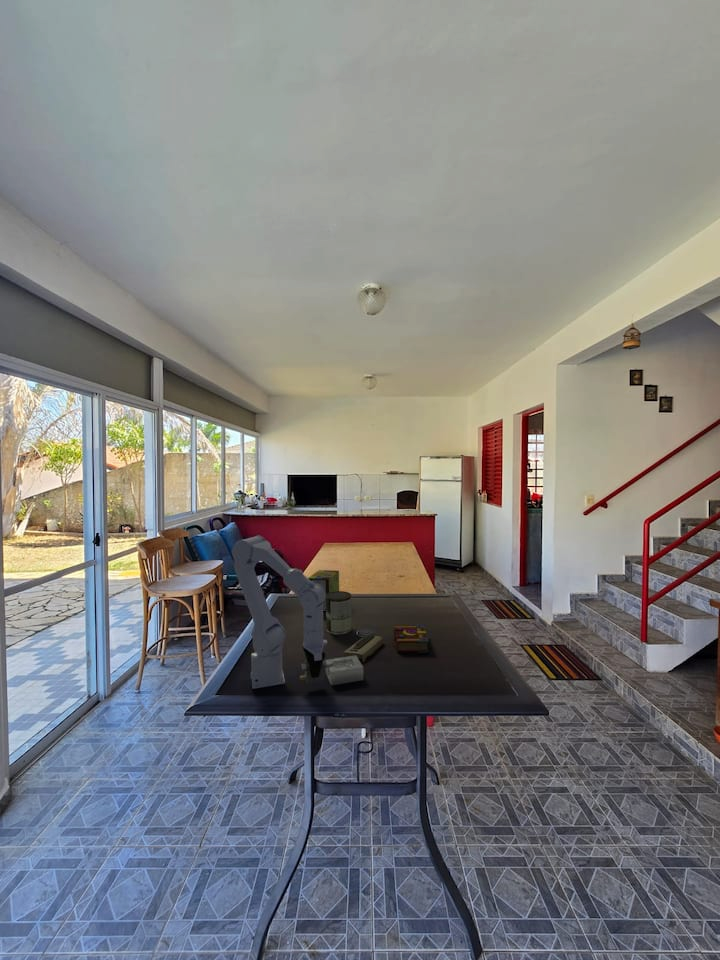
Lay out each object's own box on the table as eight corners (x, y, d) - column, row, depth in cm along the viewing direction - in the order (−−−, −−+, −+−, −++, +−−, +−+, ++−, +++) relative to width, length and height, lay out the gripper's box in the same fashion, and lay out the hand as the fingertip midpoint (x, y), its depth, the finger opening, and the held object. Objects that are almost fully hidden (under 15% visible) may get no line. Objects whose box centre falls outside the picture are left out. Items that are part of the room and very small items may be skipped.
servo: (301, 684, 112) (300, 663, 112) (299, 678, 115) (299, 658, 115) (327, 679, 114) (327, 660, 114) (325, 674, 118) (325, 655, 117)
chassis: (331, 685, 116) (331, 672, 116) (325, 672, 124) (325, 659, 124) (363, 679, 119) (363, 666, 119) (356, 667, 127) (355, 655, 127)
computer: (364, 640, 148) (364, 632, 148) (383, 645, 144) (383, 636, 144) (342, 658, 134) (342, 648, 134) (363, 663, 130) (363, 654, 130)
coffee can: (320, 630, 157) (320, 595, 157) (336, 622, 165) (336, 589, 165) (341, 636, 151) (340, 600, 151) (356, 628, 159) (356, 593, 159)
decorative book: (396, 654, 137) (396, 639, 137) (393, 634, 153) (393, 622, 153) (429, 653, 136) (428, 639, 136) (422, 634, 153) (422, 622, 152)
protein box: (339, 601, 192) (339, 570, 192) (329, 612, 177) (329, 578, 177) (319, 600, 195) (319, 569, 194) (308, 611, 180) (307, 577, 180)
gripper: (332, 635, 109) (332, 684, 109) (322, 617, 123) (322, 660, 123) (307, 639, 107) (307, 688, 107) (299, 620, 121) (300, 663, 121)
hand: (313, 673), depth 115 cm, fingers closed on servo, 3 cm apart
